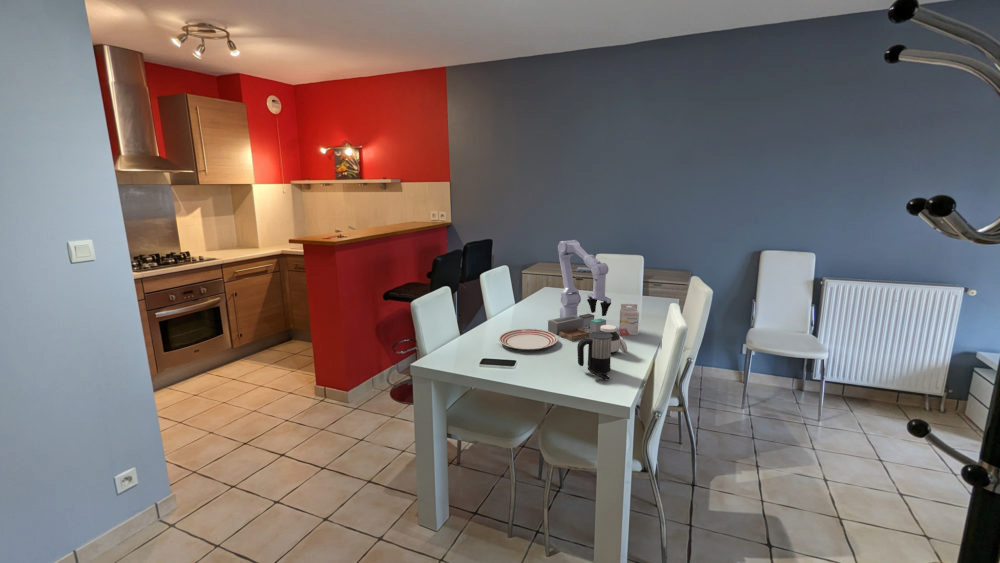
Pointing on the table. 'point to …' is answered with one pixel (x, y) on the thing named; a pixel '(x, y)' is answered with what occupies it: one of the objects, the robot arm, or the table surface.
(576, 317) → the grey long block
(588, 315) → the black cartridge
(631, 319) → the ink cartridge box
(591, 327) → the teal cartridge
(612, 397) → the table surface
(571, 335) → the walnut tray
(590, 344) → the milk frother
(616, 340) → the spread jar
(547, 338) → the dinner plate
